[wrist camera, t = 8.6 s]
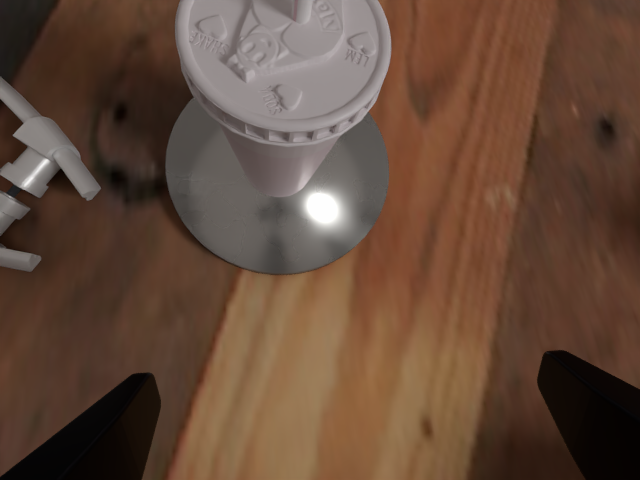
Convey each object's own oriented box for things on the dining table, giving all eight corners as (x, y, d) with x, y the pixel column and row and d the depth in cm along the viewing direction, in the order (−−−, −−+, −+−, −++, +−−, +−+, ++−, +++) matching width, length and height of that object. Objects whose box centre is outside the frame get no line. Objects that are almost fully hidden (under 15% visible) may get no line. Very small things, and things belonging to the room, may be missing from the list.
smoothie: (360, 165, 21) (533, -123, 7) (280, 247, 19) (309, 74, 6) (276, 89, 21) (291, -327, 8) (190, 163, 20) (15, -191, 6)
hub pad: (383, 282, 20) (387, 280, 20) (154, 267, 19) (149, 265, 18) (385, 87, 23) (390, 79, 22) (184, 60, 22) (181, 51, 21)
